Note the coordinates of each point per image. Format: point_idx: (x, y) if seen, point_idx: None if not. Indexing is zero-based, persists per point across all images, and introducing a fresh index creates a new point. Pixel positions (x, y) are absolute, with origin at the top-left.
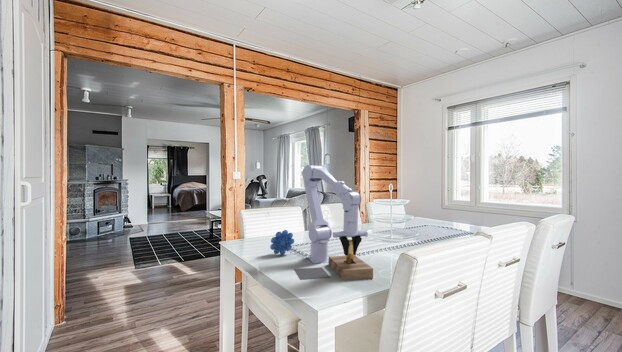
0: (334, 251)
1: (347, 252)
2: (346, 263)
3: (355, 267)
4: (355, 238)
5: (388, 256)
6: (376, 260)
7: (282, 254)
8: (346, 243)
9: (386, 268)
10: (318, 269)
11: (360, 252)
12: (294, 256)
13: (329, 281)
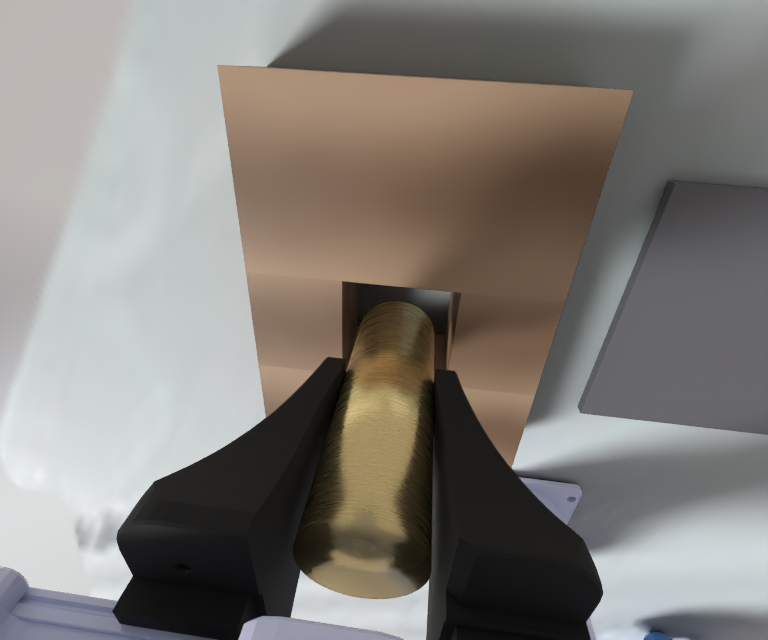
0: None
1: (441, 387)
2: None
3: (421, 162)
4: (261, 566)
5: (21, 455)
6: (116, 424)
7: (659, 632)
8: (490, 489)
9: (74, 276)
10: (636, 384)
11: None
12: (606, 598)
13: (732, 119)
